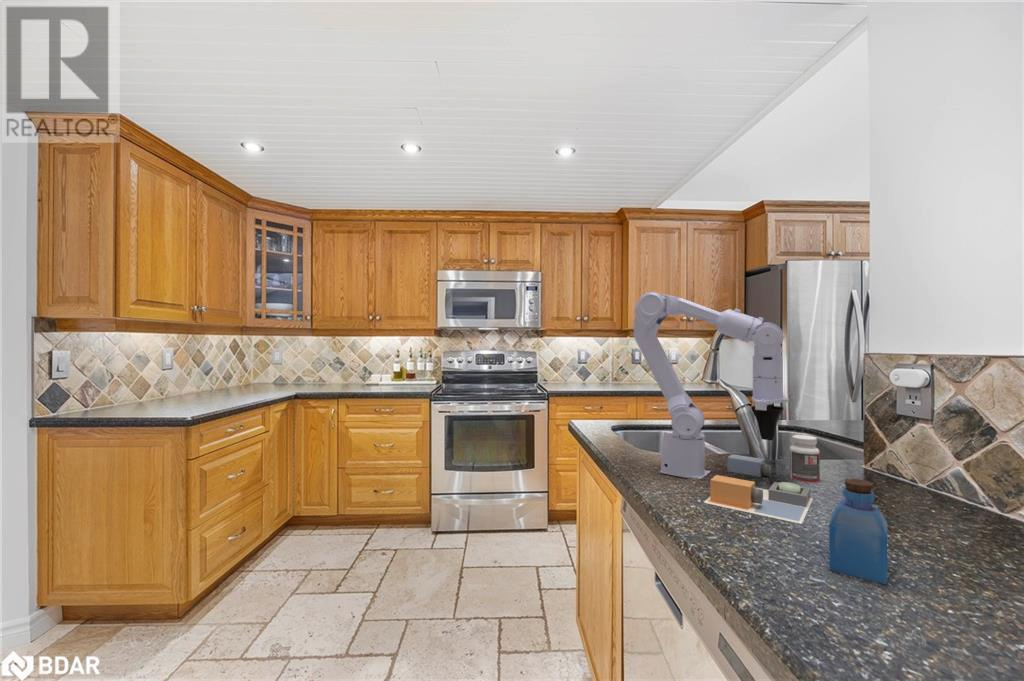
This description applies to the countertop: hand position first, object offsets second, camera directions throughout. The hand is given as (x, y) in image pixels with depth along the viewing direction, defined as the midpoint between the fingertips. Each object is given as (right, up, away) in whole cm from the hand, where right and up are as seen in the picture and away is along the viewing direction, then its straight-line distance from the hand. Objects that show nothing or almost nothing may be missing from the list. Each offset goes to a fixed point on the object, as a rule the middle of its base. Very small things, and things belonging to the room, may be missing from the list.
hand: (767, 439), depth 100 cm
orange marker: (-14, -9, -12) cm, 20 cm away
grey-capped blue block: (-1, -10, +7) cm, 13 cm away
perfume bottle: (-8, -10, -36) cm, 38 cm away
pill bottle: (+10, -10, +2) cm, 14 cm away
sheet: (-8, -10, -11) cm, 17 cm away
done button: (-2, -9, -11) cm, 14 cm away
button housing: (-2, -9, -11) cm, 14 cm away
